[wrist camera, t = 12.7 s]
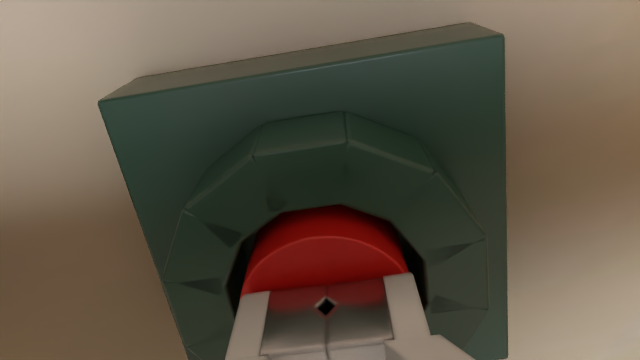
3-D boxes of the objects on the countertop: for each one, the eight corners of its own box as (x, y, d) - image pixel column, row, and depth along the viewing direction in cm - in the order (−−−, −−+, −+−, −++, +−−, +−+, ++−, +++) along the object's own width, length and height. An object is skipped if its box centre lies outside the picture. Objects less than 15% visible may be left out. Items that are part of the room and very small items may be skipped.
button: (408, 310, 11) (423, 369, 9) (268, 327, 11) (259, 388, 9) (393, 181, 10) (408, 224, 8) (236, 204, 10) (219, 250, 8)
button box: (482, 304, 14) (538, 421, 10) (217, 337, 15) (181, 459, 11) (472, 21, 11) (546, 48, 7) (134, 77, 12) (46, 129, 8)
